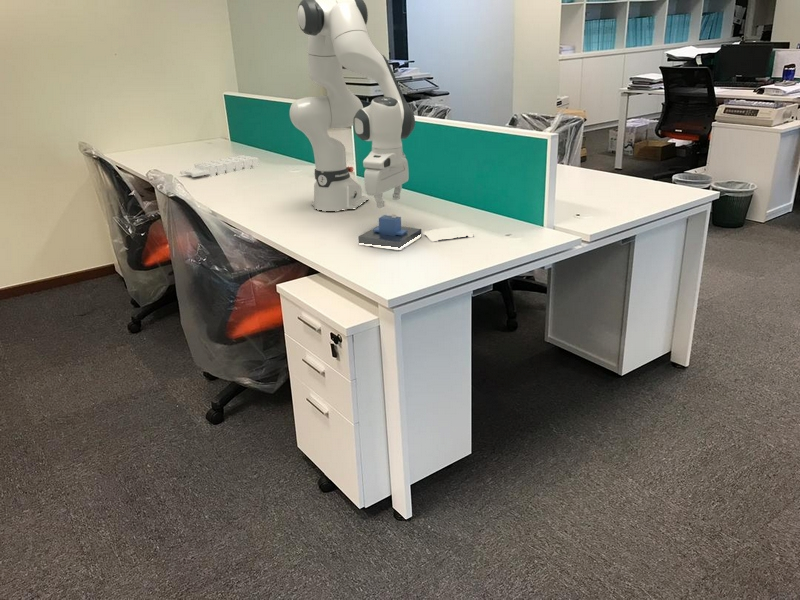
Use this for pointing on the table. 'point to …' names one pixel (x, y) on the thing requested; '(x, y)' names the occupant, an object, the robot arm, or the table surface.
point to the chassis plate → (389, 237)
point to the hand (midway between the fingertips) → (388, 203)
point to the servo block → (390, 226)
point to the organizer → (222, 166)
